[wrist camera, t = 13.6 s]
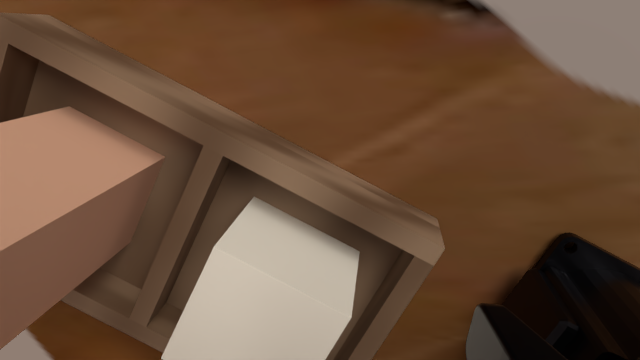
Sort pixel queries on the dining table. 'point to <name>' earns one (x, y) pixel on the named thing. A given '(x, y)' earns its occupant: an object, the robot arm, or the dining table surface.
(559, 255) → the robot arm
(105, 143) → the terracotta peg
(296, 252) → the cream block
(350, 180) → the walnut slot tray
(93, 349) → the dining table surface
